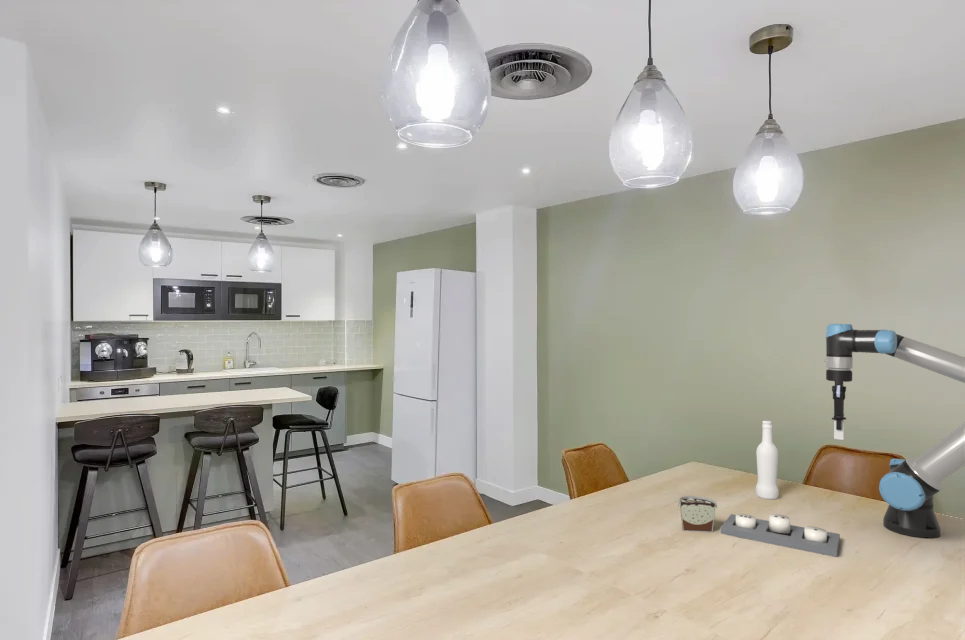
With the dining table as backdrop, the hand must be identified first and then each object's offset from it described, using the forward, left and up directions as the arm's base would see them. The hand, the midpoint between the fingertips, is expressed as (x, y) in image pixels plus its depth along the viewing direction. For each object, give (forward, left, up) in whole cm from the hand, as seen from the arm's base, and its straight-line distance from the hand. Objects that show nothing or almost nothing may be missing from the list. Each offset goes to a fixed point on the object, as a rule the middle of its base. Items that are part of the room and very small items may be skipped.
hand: (838, 438), depth 193 cm
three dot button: (+25, +23, -29) cm, 45 cm away
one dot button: (+5, +23, -29) cm, 37 cm away
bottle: (+25, -22, -30) cm, 45 cm away
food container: (+39, +31, -30) cm, 58 cm away
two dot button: (+15, +23, -27) cm, 39 cm away
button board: (+15, +23, -29) cm, 40 cm away
